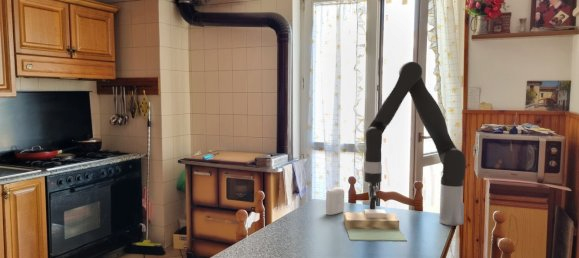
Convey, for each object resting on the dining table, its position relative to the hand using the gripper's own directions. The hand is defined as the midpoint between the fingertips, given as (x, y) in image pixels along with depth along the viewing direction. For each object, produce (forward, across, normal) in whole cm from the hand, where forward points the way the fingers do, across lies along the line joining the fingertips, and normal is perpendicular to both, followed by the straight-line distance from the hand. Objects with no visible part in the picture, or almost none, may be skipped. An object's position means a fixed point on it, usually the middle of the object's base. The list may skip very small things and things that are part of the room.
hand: (372, 208), depth 197 cm
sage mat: (+5, -21, +2) cm, 22 cm away
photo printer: (+5, +10, +16) cm, 20 cm away
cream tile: (+1, -7, 0) cm, 7 cm away
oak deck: (+5, -8, +2) cm, 10 cm away
